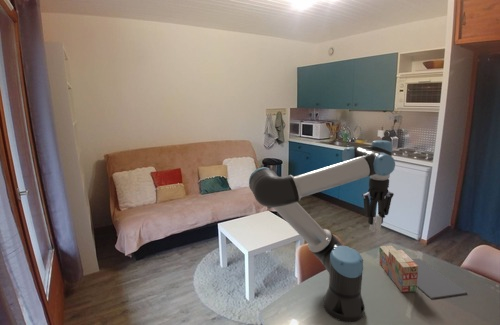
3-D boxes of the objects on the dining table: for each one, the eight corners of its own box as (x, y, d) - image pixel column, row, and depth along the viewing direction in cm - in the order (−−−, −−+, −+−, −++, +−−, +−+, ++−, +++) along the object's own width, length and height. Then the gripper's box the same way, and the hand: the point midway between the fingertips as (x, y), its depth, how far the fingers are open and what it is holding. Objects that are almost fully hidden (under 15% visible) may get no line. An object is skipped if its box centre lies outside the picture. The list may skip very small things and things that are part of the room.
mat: (430, 299, 110) (431, 297, 110) (388, 263, 135) (388, 262, 135) (466, 293, 113) (467, 292, 113) (419, 259, 138) (419, 258, 138)
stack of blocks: (379, 263, 135) (379, 240, 132) (391, 262, 135) (392, 239, 132) (401, 292, 114) (403, 266, 111) (417, 291, 114) (418, 265, 111)
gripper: (367, 181, 107) (363, 236, 112) (402, 179, 110) (396, 233, 115) (357, 176, 115) (353, 228, 119) (389, 174, 117) (385, 225, 122)
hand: (374, 230), depth 117 cm, fingers open, 2 cm apart
